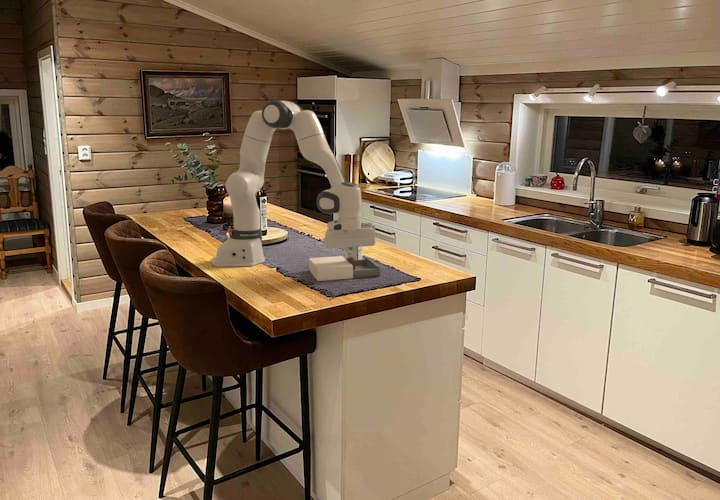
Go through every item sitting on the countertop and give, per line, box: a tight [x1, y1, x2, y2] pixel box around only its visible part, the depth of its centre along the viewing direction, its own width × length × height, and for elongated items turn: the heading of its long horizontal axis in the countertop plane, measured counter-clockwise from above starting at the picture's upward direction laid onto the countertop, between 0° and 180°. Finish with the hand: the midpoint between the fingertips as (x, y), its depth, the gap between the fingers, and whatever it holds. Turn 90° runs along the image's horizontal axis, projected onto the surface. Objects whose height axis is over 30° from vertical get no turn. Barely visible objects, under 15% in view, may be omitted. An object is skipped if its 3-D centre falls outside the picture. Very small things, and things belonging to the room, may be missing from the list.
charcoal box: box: [352, 256, 381, 279], centre depth 242 cm, size 11×16×4 cm, turn 17°
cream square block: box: [308, 255, 354, 282], centre depth 239 cm, size 14×16×5 cm
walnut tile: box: [347, 258, 355, 270], centre depth 241 cm, size 5×5×2 cm
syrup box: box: [345, 247, 363, 260], centre depth 258 cm, size 6×6×14 cm
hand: (350, 257), depth 240 cm, fingers closed
